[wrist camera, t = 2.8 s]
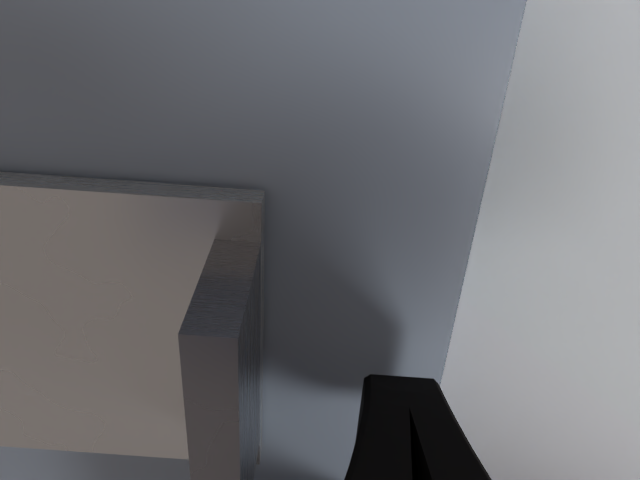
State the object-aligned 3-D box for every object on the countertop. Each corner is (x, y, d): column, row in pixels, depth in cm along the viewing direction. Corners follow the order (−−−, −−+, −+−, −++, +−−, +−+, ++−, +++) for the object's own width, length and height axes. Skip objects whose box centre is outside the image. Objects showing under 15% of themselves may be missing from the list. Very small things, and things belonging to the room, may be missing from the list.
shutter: (262, 445, 13) (241, 578, 11) (-21, 426, 13) (-110, 554, 11) (264, 189, 10) (236, 292, 7) (-113, 163, 10) (-275, 258, 7)
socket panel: (385, 541, 19) (390, 607, 17) (-112, 506, 19) (-159, 569, 17) (501, -49, 10) (535, -38, 8) (-434, -112, 10) (-597, -114, 8)
